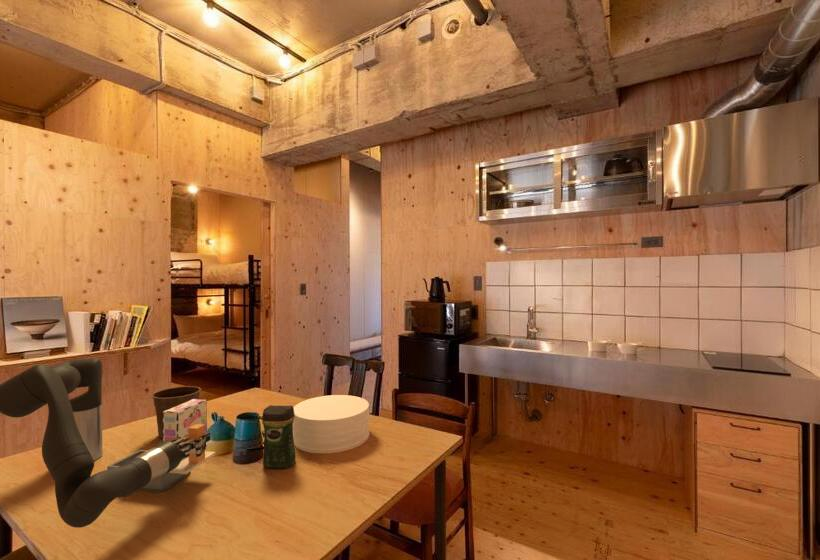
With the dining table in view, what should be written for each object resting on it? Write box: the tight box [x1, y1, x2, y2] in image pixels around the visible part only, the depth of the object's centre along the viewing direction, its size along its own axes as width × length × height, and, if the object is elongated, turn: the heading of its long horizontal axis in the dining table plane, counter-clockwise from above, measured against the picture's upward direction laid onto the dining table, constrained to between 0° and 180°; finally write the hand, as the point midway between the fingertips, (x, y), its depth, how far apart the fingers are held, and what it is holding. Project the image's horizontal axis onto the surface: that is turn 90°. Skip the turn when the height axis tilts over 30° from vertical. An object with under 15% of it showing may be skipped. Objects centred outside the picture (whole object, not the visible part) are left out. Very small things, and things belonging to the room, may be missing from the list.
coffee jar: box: [261, 405, 296, 469], centre depth 124 cm, size 10×8×19 cm
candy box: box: [162, 398, 208, 442], centre depth 133 cm, size 14×6×16 cm, turn 168°
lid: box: [169, 424, 216, 474], centre depth 113 cm, size 19×12×11 cm, turn 79°
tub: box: [106, 449, 191, 493], centre depth 115 cm, size 18×11×6 cm, turn 79°
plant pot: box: [151, 385, 202, 440], centre depth 150 cm, size 16×16×16 cm
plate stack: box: [293, 394, 370, 454], centre depth 145 cm, size 28×28×12 cm
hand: (203, 435), depth 115 cm, fingers closed on lid, 3 cm apart
